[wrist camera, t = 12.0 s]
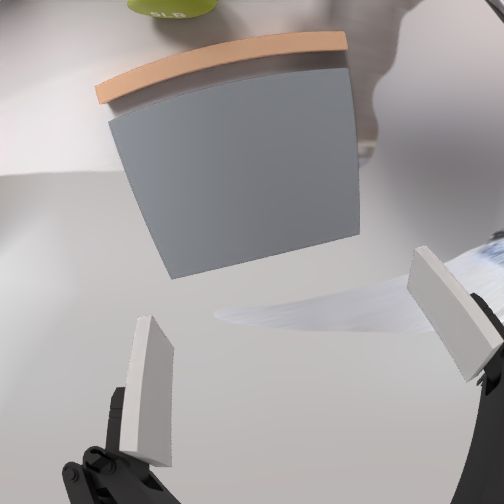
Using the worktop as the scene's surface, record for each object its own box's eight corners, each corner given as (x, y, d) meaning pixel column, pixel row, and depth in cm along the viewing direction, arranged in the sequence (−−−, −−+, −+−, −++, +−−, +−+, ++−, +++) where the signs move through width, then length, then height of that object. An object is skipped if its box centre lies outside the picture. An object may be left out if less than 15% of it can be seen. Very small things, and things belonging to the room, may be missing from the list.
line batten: (102, 85, 21) (94, 86, 19) (336, 34, 20) (344, 31, 19) (107, 102, 22) (99, 104, 20) (339, 50, 22) (348, 49, 20)
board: (112, 120, 23) (108, 121, 22) (342, 68, 23) (347, 67, 22) (172, 273, 34) (171, 279, 33) (355, 229, 34) (359, 234, 33)
